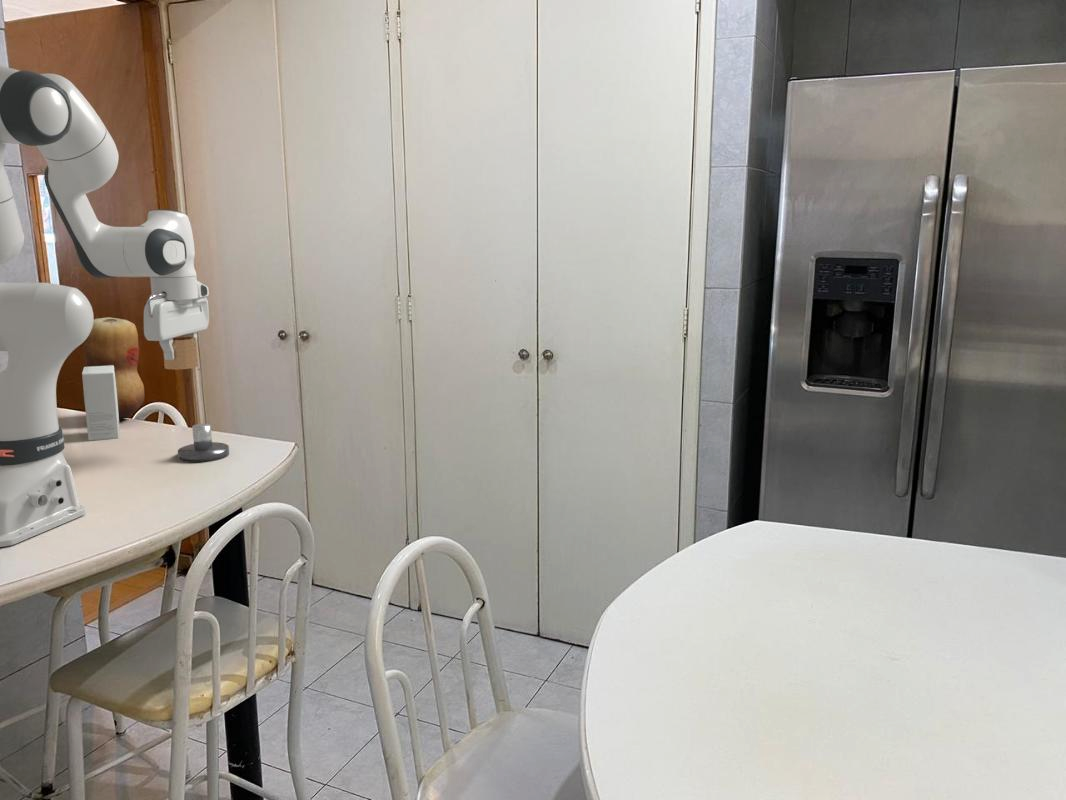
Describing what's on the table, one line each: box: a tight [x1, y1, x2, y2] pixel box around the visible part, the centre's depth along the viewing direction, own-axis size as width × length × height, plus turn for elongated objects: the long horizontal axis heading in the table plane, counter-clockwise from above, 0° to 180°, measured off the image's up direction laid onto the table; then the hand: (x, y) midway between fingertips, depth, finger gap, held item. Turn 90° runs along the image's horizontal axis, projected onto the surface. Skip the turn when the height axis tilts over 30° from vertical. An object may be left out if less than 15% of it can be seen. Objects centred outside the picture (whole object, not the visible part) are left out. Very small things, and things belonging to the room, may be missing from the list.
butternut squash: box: [82, 316, 145, 421], centre depth 199 cm, size 14×13×25 cm
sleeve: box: [162, 335, 199, 371], centre depth 172 cm, size 6×6×6 cm
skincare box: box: [81, 365, 120, 442], centre depth 186 cm, size 8×7×16 cm
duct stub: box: [177, 423, 230, 463], centre depth 172 cm, size 10×10×6 cm
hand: (180, 356), depth 172 cm, fingers closed on sleeve, 6 cm apart
